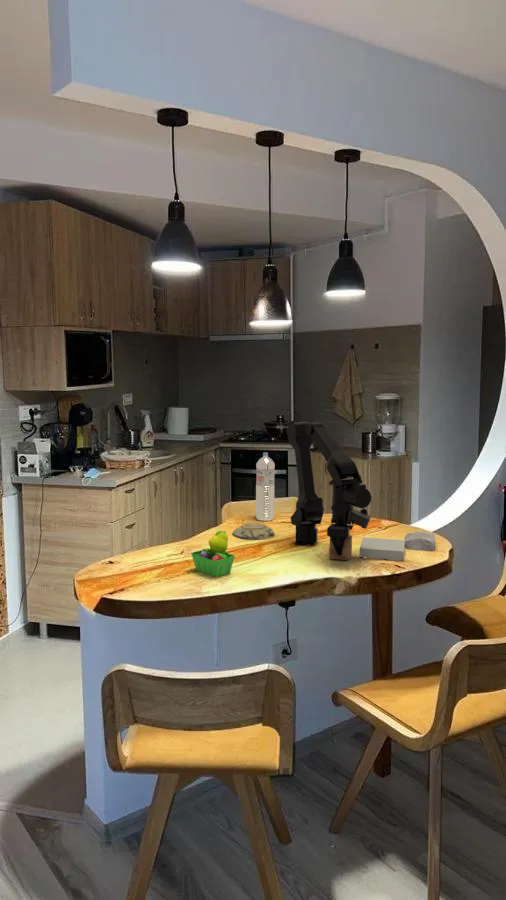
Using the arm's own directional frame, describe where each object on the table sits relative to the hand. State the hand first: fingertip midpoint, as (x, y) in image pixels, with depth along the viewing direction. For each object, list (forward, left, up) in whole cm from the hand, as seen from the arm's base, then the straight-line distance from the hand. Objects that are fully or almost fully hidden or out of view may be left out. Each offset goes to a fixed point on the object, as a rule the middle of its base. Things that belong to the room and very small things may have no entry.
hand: (340, 552), depth 208 cm
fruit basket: (-33, -22, -2) cm, 40 cm away
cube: (0, 0, -1) cm, 1 cm away
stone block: (+23, +20, -2) cm, 31 cm away
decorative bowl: (-32, +20, -2) cm, 38 cm away
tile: (+12, +8, -2) cm, 15 cm away
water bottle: (-33, +42, -2) cm, 53 cm away
